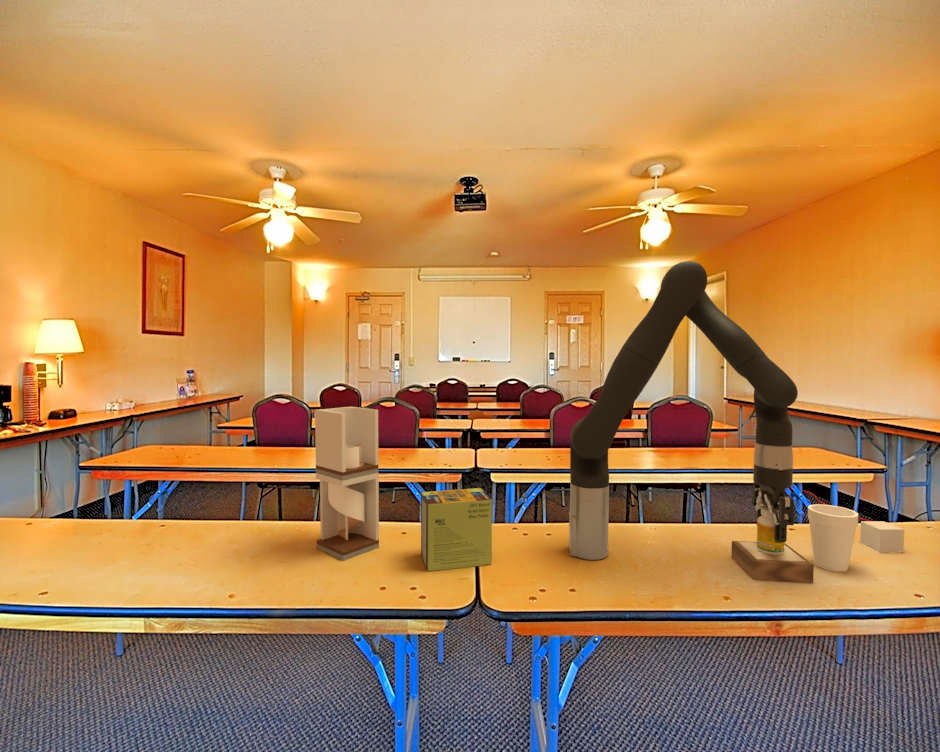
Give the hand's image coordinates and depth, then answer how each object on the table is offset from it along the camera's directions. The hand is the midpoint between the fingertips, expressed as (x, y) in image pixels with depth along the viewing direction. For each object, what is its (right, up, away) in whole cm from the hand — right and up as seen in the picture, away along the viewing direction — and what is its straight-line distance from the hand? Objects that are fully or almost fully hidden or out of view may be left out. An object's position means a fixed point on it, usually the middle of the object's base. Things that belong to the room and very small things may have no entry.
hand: (770, 534), depth 111 cm
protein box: (-72, -8, +6) cm, 73 cm away
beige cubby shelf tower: (-99, -8, +12) cm, 100 cm away
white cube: (+36, -8, +13) cm, 39 cm away
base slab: (0, -8, 0) cm, 8 cm away
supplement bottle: (0, -4, 0) cm, 4 cm away
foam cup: (+15, -8, +2) cm, 18 cm away
